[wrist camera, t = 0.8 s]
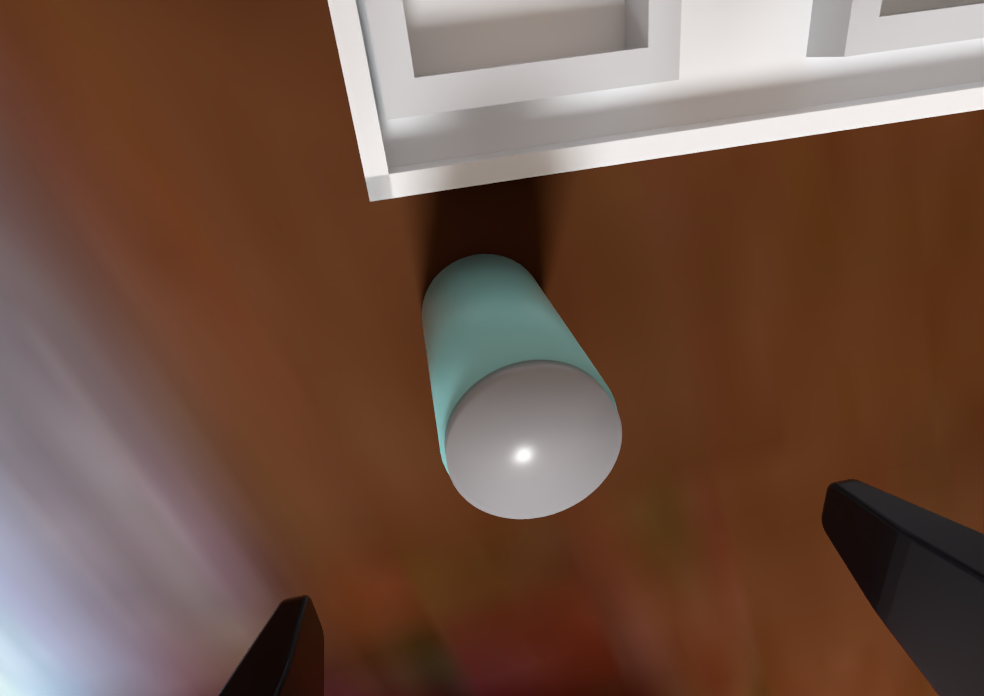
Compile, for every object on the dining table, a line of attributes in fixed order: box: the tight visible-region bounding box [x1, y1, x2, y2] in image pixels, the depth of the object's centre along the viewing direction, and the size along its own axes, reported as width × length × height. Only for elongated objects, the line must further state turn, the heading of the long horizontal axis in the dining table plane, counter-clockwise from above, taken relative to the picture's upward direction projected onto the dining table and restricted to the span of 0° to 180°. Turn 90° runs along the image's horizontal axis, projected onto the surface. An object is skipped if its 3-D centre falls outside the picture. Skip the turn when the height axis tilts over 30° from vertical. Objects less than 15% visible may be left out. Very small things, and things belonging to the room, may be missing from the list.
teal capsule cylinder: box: [422, 254, 622, 519], centre depth 16 cm, size 4×4×8 cm
